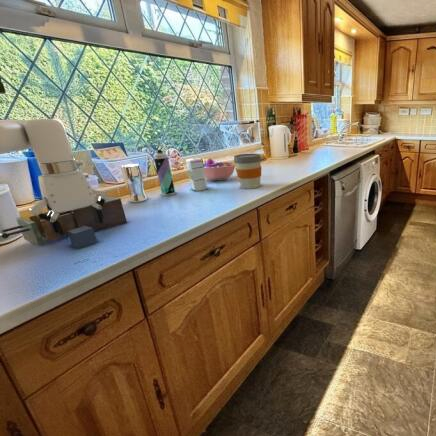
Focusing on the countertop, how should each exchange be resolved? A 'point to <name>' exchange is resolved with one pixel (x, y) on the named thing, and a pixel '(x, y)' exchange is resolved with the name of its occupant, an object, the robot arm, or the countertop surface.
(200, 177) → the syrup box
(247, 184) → the reusable coffee cup
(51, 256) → the countertop surface
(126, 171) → the beer glass
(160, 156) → the spray can
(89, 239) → the block
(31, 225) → the drawer
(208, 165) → the cell model
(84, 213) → the cabinet
